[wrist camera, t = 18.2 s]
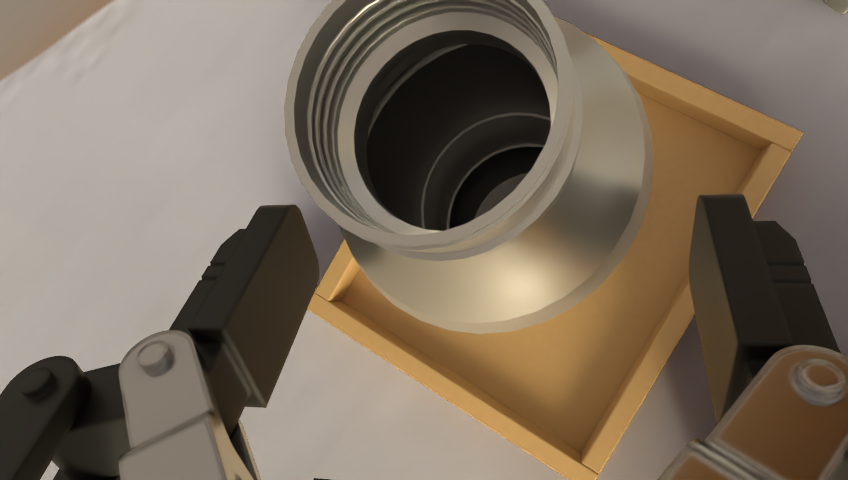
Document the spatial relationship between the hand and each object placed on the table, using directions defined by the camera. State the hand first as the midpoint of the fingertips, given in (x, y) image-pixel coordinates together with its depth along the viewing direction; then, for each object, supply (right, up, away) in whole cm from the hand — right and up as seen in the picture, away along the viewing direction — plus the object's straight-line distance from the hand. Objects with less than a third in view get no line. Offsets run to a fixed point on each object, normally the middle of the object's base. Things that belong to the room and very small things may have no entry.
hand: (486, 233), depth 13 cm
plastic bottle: (+3, 0, +14) cm, 15 cm away
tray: (+4, 0, +15) cm, 15 cm away
